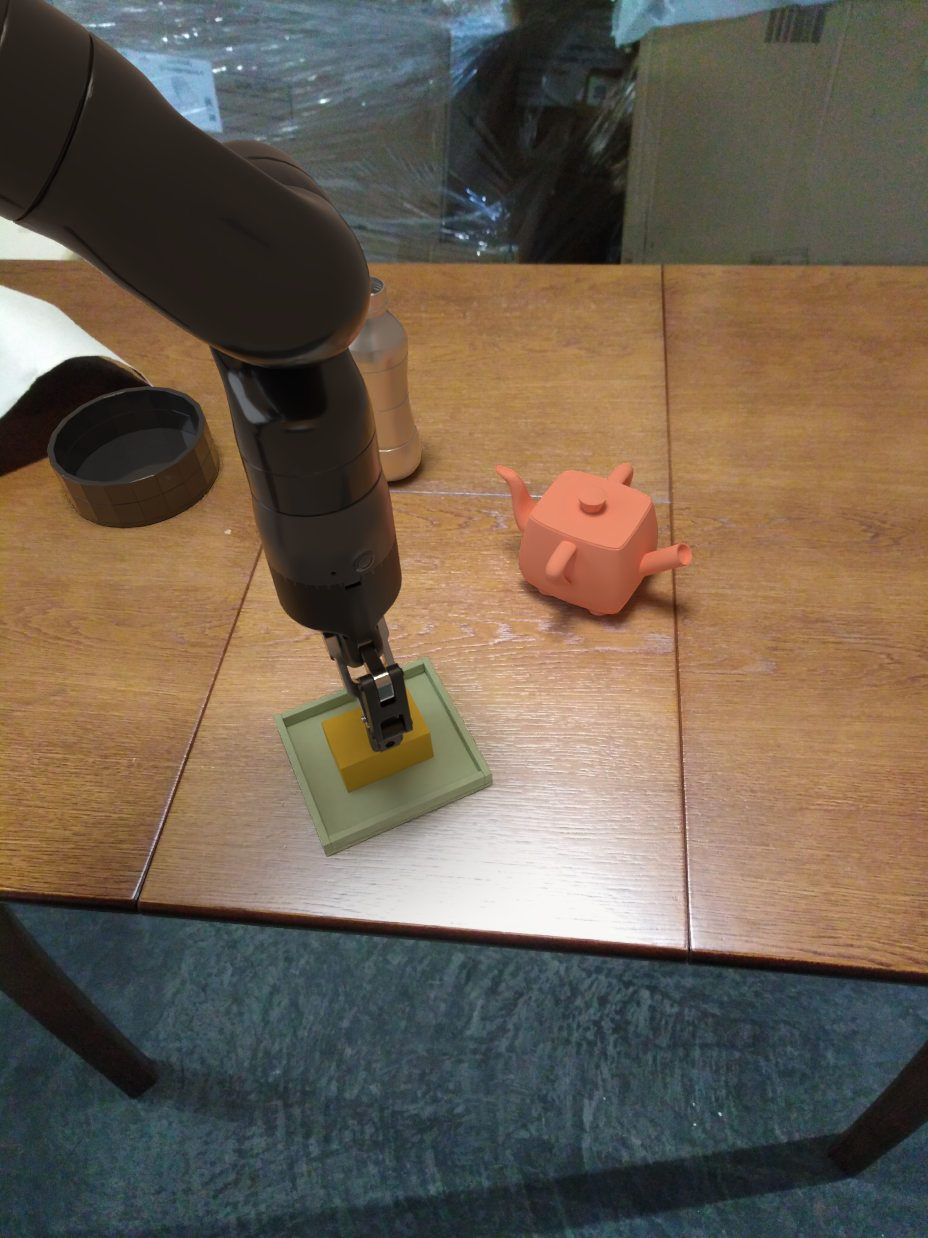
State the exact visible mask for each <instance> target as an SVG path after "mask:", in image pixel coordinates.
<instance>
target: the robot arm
mask: <svg viewBox="0 0 928 1238" xmlns="http://www.w3.org/2000/svg"><path fill="white" fill-rule="evenodd" d="M0 218H3V219H5V220H7V221H11V222H12V223H14V224H15V225H17V226H20V227H22V228H24V229H26V230H29V231H30V232H33V233H34V234H37V235H40V236H42V237H44V238H47V239H49V240H51V241H54V242H55V243H57V244H59V245H61V246H63V247H64V248H66V249H67V250H69V251H71V252H72V253H74V254H75V255H77V256H78V257H80V258H81V259H82V260H84V261H85V262H86V263H88V264H90V266H92V267H94V268H95V269H96V270H98V272H100V273H101V274H102V275H104V276H105V277H107V279H109V280H110V281H112V282H113V283H115V284H116V285H117V286H118V287H120V288H122V289H123V290H124V291H126V292H127V293H129V294H130V295H132V296H134V297H135V298H136V299H138V300H139V301H140V302H142V303H143V304H145V305H146V306H148V307H149V308H151V309H152V310H153V311H155V312H157V313H158V314H159V315H161V316H162V317H164V318H165V319H167V320H168V321H170V322H171V323H172V324H174V325H175V326H177V327H179V328H180V329H182V330H183V331H185V332H187V333H188V334H189V335H190V336H191V335H192V336H193V337H194V338H196V339H197V340H199V341H200V342H203V344H205V345H208V348H209V351H210V352H211V355H212V357H213V361H214V363H215V365H216V368H217V370H218V373H219V376H220V378H221V381H222V384H223V387H224V393H225V396H226V399H227V403H228V404H227V405H228V408H229V413H230V418H231V423H232V429H233V434H234V438H235V442H236V446H237V449H238V453H239V456H240V460H241V463H242V466H243V469H244V473H245V476H246V480H247V483H248V486H249V490H250V491H249V492H250V494H251V503H252V512H253V518H254V522H255V526H256V529H257V532H258V536H259V540H260V542H261V546H262V549H263V553H264V557H265V559H266V562H267V565H268V569H269V573H270V576H271V579H272V583H273V585H274V589H275V592H276V595H277V599H278V601H279V604H280V606H281V608H282V609H283V611H284V612H285V614H286V615H287V616H288V617H289V618H290V619H291V620H293V621H294V622H295V623H296V624H299V625H300V626H302V627H304V628H306V629H309V630H313V631H316V632H320V636H321V638H322V641H323V643H324V647H325V649H326V652H327V653H328V656H329V657H330V660H331V661H333V662H334V663H335V665H336V668H337V672H338V675H339V677H340V681H341V683H342V686H343V689H345V690H346V692H347V693H348V694H349V695H350V696H351V697H356V699H357V702H358V705H359V708H360V711H361V714H362V716H361V719H362V722H363V724H365V727H366V731H367V735H368V740H369V743H370V745H371V747H372V750H373V751H374V752H379V751H380V752H384V751H386V750H389V749H391V748H393V747H396V746H398V745H400V744H401V741H402V740H403V733H408V732H410V731H412V730H413V725H412V724H413V721H412V719H411V715H410V709H409V704H408V698H407V693H406V687H405V682H404V677H403V676H404V672H403V669H402V668H400V665H399V663H398V662H396V660H395V658H394V655H393V652H392V648H391V645H390V643H389V637H390V630H389V627H388V624H387V621H386V618H385V615H386V613H387V612H388V611H390V609H391V608H392V606H393V605H394V604H395V602H396V601H397V598H398V597H399V594H400V591H401V589H402V584H403V583H402V582H403V575H402V567H401V560H400V553H399V547H398V546H399V545H398V539H397V531H396V530H397V529H396V524H395V519H394V509H393V502H392V498H391V497H392V496H391V493H390V488H389V485H388V481H386V478H385V475H384V472H383V469H382V464H381V457H380V451H379V444H378V437H377V430H376V423H375V418H374V412H373V407H372V402H371V398H370V395H369V392H368V389H367V386H366V384H365V381H364V379H363V377H362V375H361V373H360V370H359V369H358V367H357V365H356V363H355V361H354V359H353V357H352V355H351V353H350V350H349V346H350V345H351V344H352V342H353V341H354V340H355V339H356V337H357V336H358V334H359V333H360V331H361V329H362V327H363V325H364V323H365V320H366V317H367V314H368V310H369V306H370V298H371V284H370V276H371V275H370V270H369V266H368V261H367V259H366V256H365V253H364V250H363V248H362V246H361V243H360V241H359V240H358V238H357V236H356V233H354V230H353V229H352V228H351V226H350V225H349V224H348V223H347V221H346V219H345V218H344V217H343V216H342V214H341V213H340V211H338V209H337V208H336V206H335V205H334V204H333V202H332V201H331V199H330V198H329V197H328V196H327V194H326V192H325V191H324V190H323V189H322V187H321V186H320V185H319V183H318V182H317V181H316V180H315V178H314V177H313V176H312V175H311V173H310V172H309V171H308V169H306V167H304V165H302V163H300V162H299V161H298V160H297V159H295V158H294V157H293V156H291V155H290V154H288V153H286V152H285V151H284V150H281V149H280V148H278V147H276V146H273V144H268V143H265V142H263V141H258V140H253V139H232V140H227V141H223V142H220V141H219V140H217V139H216V138H215V137H213V136H212V135H210V134H208V133H207V132H206V131H205V130H202V129H201V128H200V127H199V126H197V125H196V124H194V123H192V122H191V120H189V119H188V118H186V117H185V116H183V115H182V114H181V113H180V112H179V111H178V110H177V109H176V108H175V107H174V106H173V105H172V104H171V103H170V102H169V101H168V100H167V99H166V97H165V96H164V95H163V94H162V93H161V91H160V90H159V89H158V88H157V87H156V86H155V84H154V83H153V82H152V81H151V80H150V79H149V77H148V76H146V75H145V74H144V72H142V71H141V70H140V69H139V68H138V67H137V66H136V65H135V64H133V63H132V62H131V61H130V60H129V59H128V58H127V57H125V56H124V55H123V54H122V53H120V52H119V51H118V50H117V49H115V48H114V47H113V46H111V45H110V44H109V43H108V42H106V41H105V40H103V39H102V38H101V37H99V36H98V35H96V34H95V33H94V32H92V31H89V30H88V29H87V28H86V27H85V26H84V25H82V24H80V23H79V22H78V21H76V20H74V19H73V18H72V17H70V16H69V15H67V14H66V13H65V12H63V11H61V10H60V9H59V8H57V7H56V6H54V5H53V4H52V3H50V2H48V1H47V0H0ZM363 666H364V669H365V671H366V674H364V675H361V676H359V677H356V678H353V677H352V675H351V674H350V670H349V668H351V669H358V668H360V667H363Z"/></svg>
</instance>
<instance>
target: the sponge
mask: <svg viewBox="0 0 928 1238" xmlns="http://www.w3.org/2000/svg"><path fill="white" fill-rule="evenodd" d="M406 693H407V698H408V704H409V709H410V715H411V719H412V721H413V724H412V725H413V730H412V731H410V732H408V733H403V740H402V741H401V744H400V745H398V746H396V747H393V748H391V749H389V750H386V751H384V752H380V751H379V752H374V751H373V750H372V747H371V745H370V743H369V740H368V735H367V731H366V727H365V724H363V722H362V719H361V716H362V714H361V711H360V708H359V707H358V708H355V709H353V710H350V711H348V712H345V713H343V714H340V715H338V716H335V717H333V718H330V719H327V720H325V721H322V722H321V724H322V727H323V730H324V734H325V737H326V740H327V743H328V746H329V749H330V751H331V753H332V756H333V758H334V760H335V763H336V765H337V768H338V770H339V772H340V775H341V777H342V780H343V782H344V784H345V787H346V789H347V791H348V793H349V792H351V791H354V790H356V789H358V788H361V787H363V786H366V785H368V784H370V783H373V782H375V781H377V780H380V779H382V778H385V777H387V776H389V775H392V774H394V773H396V772H399V771H401V770H404V769H406V768H408V767H411V766H413V765H415V764H418V763H420V762H423V761H425V760H427V759H430V758H432V757H434V754H433V748H432V741H431V735H430V731H429V729H428V727H427V725H426V723H425V721H424V719H423V717H422V715H421V713H420V711H419V710H418V708H417V706H416V704H415V702H414V700H413V698H412V696H411V694H410V692H409V690H408V688H406Z"/></svg>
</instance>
